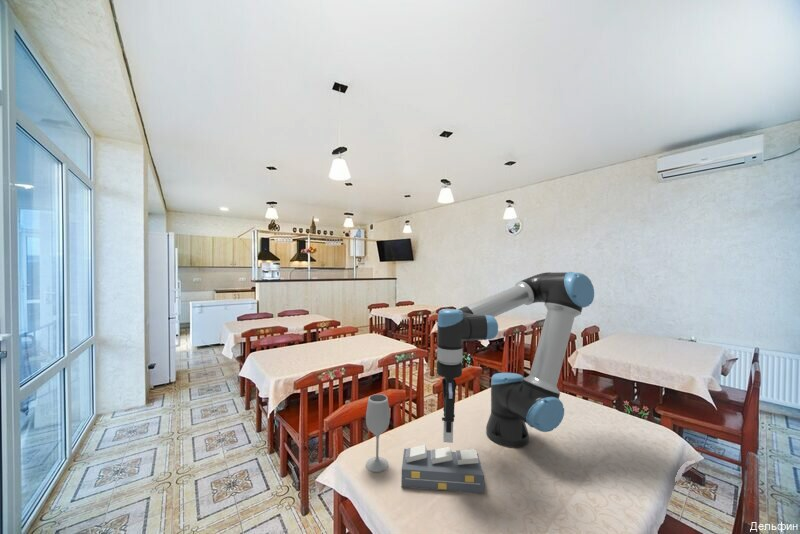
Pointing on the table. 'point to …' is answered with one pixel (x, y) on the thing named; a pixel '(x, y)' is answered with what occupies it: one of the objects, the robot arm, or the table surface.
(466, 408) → the table surface
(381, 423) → the wineglass
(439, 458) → the rocker
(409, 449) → the rocker
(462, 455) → the rocker
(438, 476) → the console
